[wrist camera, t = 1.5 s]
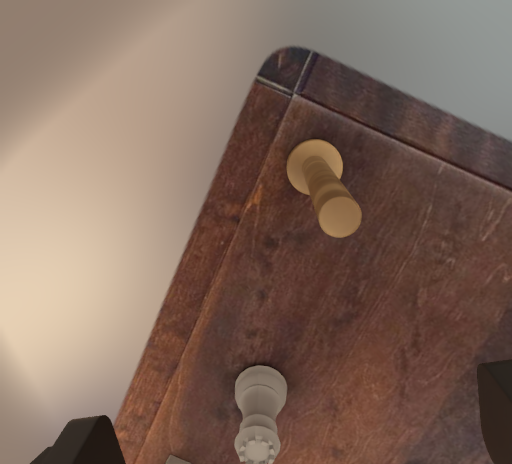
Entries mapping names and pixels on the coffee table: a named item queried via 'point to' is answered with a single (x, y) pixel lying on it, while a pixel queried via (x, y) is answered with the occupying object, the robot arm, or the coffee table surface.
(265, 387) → the rook chess piece
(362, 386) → the coffee table surface
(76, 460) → the robot arm
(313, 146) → the tan tall turned piece
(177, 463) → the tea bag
